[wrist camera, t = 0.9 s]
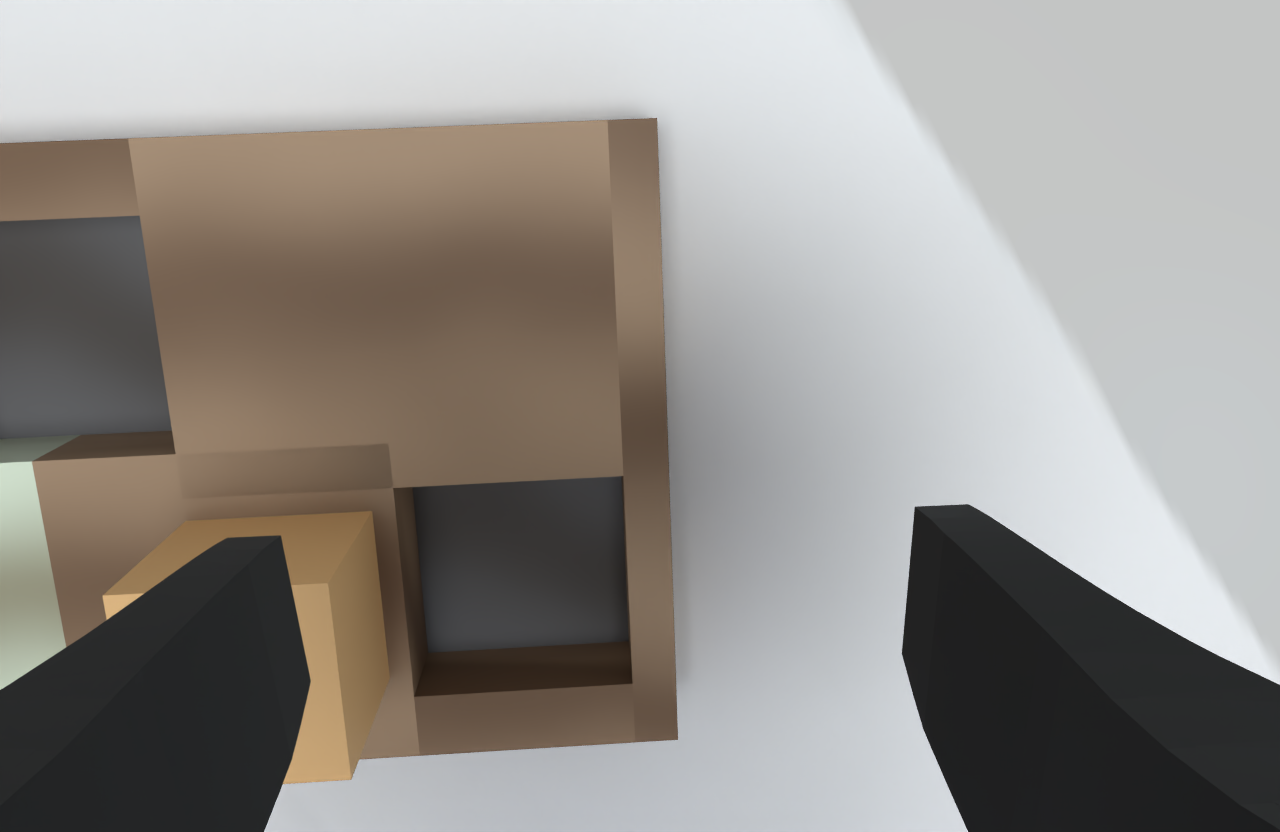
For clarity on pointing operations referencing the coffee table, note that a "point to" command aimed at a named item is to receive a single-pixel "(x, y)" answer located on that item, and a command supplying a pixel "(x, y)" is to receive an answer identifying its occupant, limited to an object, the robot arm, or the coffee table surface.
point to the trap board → (359, 399)
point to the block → (306, 623)
